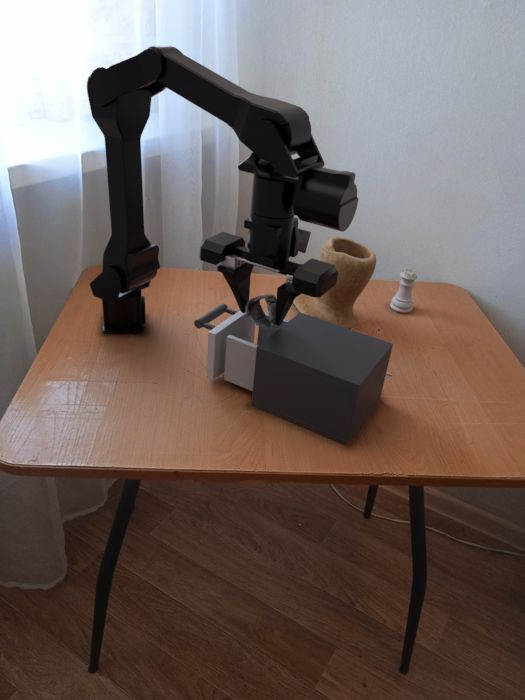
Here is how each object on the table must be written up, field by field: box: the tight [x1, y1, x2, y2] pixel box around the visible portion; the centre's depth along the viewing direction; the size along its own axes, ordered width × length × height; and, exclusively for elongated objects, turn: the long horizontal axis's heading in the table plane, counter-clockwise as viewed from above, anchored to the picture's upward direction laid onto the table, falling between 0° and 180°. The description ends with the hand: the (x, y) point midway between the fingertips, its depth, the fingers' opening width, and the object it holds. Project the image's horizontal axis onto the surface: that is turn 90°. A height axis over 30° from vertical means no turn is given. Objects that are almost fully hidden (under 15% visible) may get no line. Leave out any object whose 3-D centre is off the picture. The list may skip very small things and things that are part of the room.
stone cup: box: [292, 236, 377, 330], centre depth 101 cm, size 15×12×15 cm
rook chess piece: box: [389, 268, 418, 314], centre depth 108 cm, size 4×4×8 cm
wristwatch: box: [245, 293, 277, 329], centre depth 79 cm, size 3×5×5 cm
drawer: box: [193, 302, 290, 392], centre depth 83 cm, size 18×12×8 cm, turn 60°
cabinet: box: [250, 312, 394, 446], centre depth 79 cm, size 15×13×10 cm
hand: (261, 318), depth 80 cm, fingers closed on wristwatch, 5 cm apart
